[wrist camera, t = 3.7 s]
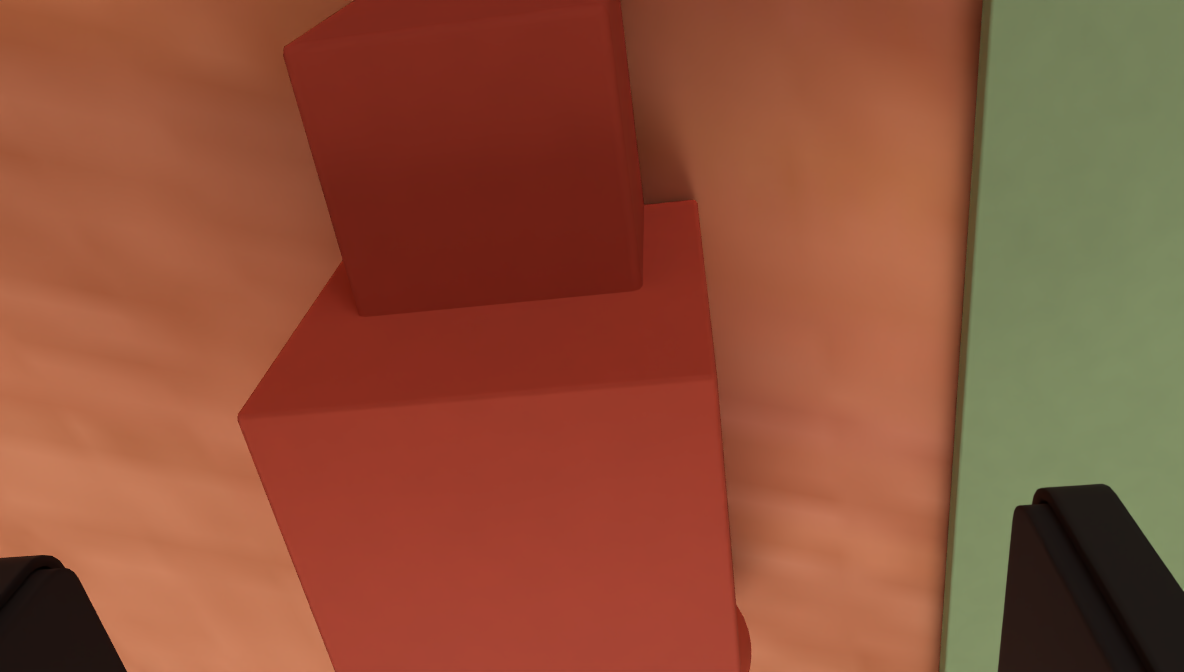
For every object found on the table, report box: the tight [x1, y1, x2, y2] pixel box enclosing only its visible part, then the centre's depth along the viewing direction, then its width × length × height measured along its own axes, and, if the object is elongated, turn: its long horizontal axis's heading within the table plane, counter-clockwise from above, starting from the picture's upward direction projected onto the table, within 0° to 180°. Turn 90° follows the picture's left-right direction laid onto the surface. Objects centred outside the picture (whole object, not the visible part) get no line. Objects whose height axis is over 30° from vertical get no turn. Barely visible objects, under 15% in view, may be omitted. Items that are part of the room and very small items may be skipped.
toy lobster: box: [238, 0, 751, 672], centre depth 10 cm, size 10×4×4 cm, turn 8°
